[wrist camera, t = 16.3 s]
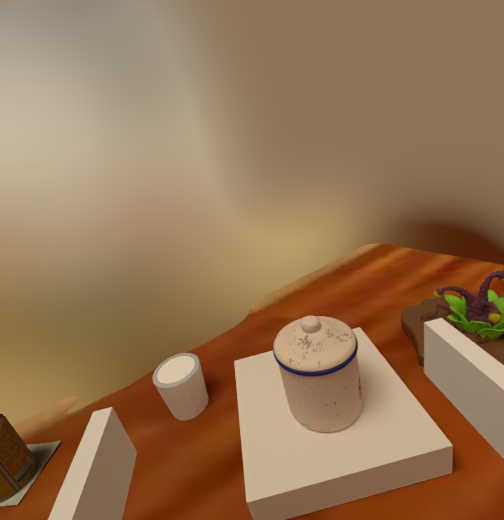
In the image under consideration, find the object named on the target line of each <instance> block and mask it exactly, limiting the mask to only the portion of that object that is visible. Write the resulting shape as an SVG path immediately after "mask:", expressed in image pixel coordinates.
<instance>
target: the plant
mask: <svg viewBox="0 0 504 520" xmlns="http://www.w3.org/2000/svg"><path fill="white" fill-rule="evenodd" d="M494 277H498V278H499V280H500V281H502V282H504V271H497V272H493V273H491V275H489V276H488V277H487V278H486V279H485V281H484V282H483V283H482V285H481V286H480V291H479V294H470V293H469V292H467V290H464V289H461V288H458V287H455V286H453V287H452V286H450V287H446V288H442V289H437V290H435V291H434V293H433V296H434V297H435V299H431V298H427V299H424V300H423V301H422V303H421V304H420V305H418V306H408V307H407V308H406V309H405V310H404V311H403V312H402V315H401V322H402V329H403V331H404V332H405V334H406V335H407V336H408V337H409V338H410V340H411V341H412V343H413V345H414V347H415V349H416V351H417V354H418V362H419V364H420V365H421V366H422V367H424V322H428V321H432V320H435V319H439V318H442V319H444V320H445V321H446V322H448V323H449V324H450V325H452V326H453V327H454V328H455V329H457V330H458V331H459V332H461V333H462V334H463V335H465V336H466V337H467V338H469V339H470V340H471V341H472V342H474V343H475V344H476V345H478V346H479V347H480V348H482V349H483V350H484V351H486V352H487V353H488V354H490V355H491V356H492V357H493V358H495V359H496V360H497V361H499V362H500V363H501V364H503V365H504V296H500V295H496V293H495V292H494V291H493V290H488V289H489V285H490V282H491V281H492V279H493V278H494ZM446 290H448V291H449V290H451V291H456V292H459V293H460V294H461V296H460V297H455V296H452V295H445V296H443V294H444V291H446Z"/></svg>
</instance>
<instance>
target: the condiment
mask: <svg viewBox="0 0 504 520" xmlns="http://www.w3.org/2000/svg"><path fill="white" fill-rule="evenodd" d="M60 442H61V441H56V442H49V443H41V444H30V445H26V444H25V443H24V442H23V440H22V439H21V438H20V436H19V435H18V434H17V432H16V431H15V430H14V428H13V427H12V426H11V424H10V423H9V421H8V420H7V419H6V417H5V416H3V414H0V507H1V506H10V505H18V503H19V502H20V500H21V499H22V498H23V496H24V495H25V493H26V492H27V491H28V489H29V488H30V486H31V485H32V484H33V482H34V481H35V479H36V478H37V476H38V475H39V473H40V472H41V470H42V469H43V467H44V465H45V463H46V462H47V461H48V460H49V458H50V457H51V455H52V454H53V452H54V451H55V449H56V447H57V446H58V445H59V443H60Z"/></svg>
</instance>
